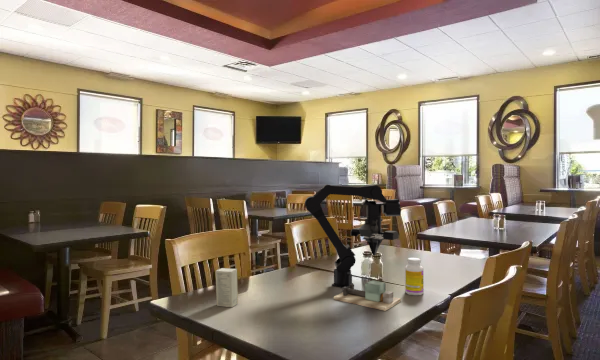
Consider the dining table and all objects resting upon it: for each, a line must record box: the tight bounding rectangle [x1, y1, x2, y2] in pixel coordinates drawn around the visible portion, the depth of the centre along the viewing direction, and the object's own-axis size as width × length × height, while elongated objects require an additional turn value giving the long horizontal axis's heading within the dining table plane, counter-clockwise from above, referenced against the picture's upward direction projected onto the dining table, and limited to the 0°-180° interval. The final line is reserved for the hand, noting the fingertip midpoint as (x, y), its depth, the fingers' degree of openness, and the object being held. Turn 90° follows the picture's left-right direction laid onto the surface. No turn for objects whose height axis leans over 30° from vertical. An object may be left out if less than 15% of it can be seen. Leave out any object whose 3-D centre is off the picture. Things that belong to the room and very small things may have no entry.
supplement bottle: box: [404, 257, 424, 296], centre depth 146 cm, size 7×7×13 cm
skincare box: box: [215, 267, 239, 308], centre depth 134 cm, size 6×4×12 cm
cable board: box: [333, 283, 402, 312], centre depth 138 cm, size 20×12×4 cm, turn 52°
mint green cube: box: [364, 279, 387, 302], centre depth 136 cm, size 5×5×5 cm
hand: (374, 255), depth 157 cm, fingers closed
